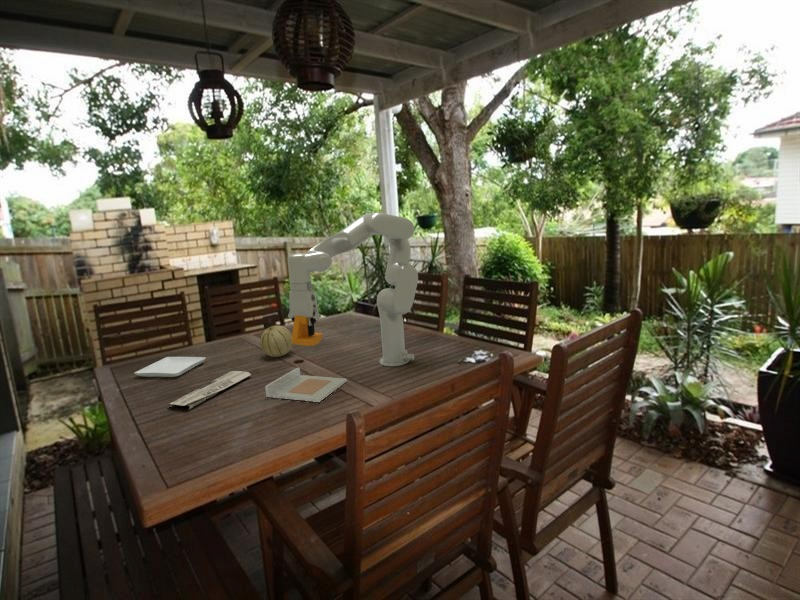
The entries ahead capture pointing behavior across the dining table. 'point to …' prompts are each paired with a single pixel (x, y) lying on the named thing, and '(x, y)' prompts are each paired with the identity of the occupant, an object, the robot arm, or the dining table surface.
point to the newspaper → (210, 389)
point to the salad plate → (170, 366)
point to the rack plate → (303, 386)
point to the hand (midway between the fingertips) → (306, 334)
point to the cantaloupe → (276, 341)
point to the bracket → (303, 333)
